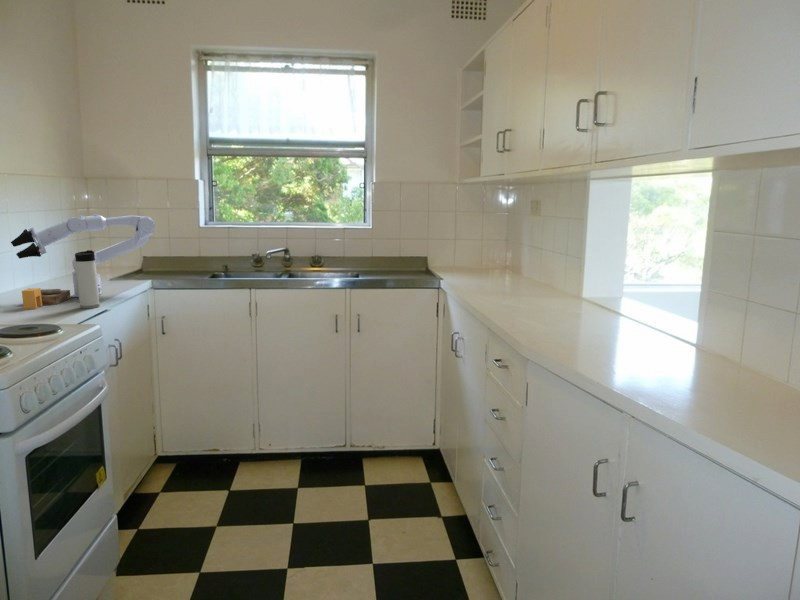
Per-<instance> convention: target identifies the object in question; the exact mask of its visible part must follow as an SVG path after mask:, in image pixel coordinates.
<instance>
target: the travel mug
mask: <svg viewBox="0 0 800 600" xmlns="http://www.w3.org/2000/svg"><path fill="white" fill-rule="evenodd" d="M94 252H95V251H93V250H89V249H88V250H85V251H78V252H75V253H74V258H76V259H75V260H76V261H75V262H76V272H77V282H78V292H79V297H78V301H79V302H78V303H79V307H80V309H84V310H86V309H88V310H89V309H96V308H99V307H100V306H101V303H100V295H99V293H98V283H97V266H96V262H95V253H94Z"/></svg>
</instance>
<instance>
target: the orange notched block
mask: <svg viewBox="0 0 800 600" xmlns="http://www.w3.org/2000/svg"><path fill="white" fill-rule="evenodd" d="M21 297H22V303H23V305H22V306H23V310H34V309H35V310H36V309H38V308H39V307H43V305H42V298H41V287H38V288H37V287H35V288H33V287H32V288H26V289H24V290H21Z"/></svg>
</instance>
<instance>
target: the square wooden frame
mask: <svg viewBox="0 0 800 600" xmlns="http://www.w3.org/2000/svg"><path fill="white" fill-rule="evenodd" d="M40 289H41V288H40ZM41 298H42V306H43V305H47V306H48V305H58V304H61V303H62V302H64V301H66V300H68V299H70V298H72V297H71V290H69V289H63V290H62V289H61V288H47V289H46V288H45V289H41Z"/></svg>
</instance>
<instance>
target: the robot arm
mask: <svg viewBox="0 0 800 600" xmlns="http://www.w3.org/2000/svg"><path fill="white" fill-rule="evenodd" d="M79 216H80V217H78V216H74V217H69V218H68V219H67V220H64V221H62V222H58V223H56V224H54V225H51V226H49V227H46V228H44V229H42V230H40V231H37V230H36V229H35V228H34V227H30V228H29V229H28V230H27V229H26V228H25V229H24V230H23V231H22V233H21V234H19V235H18V236H17V237H16V238H14V239H13V240H12V241H10V244H11V245H12V247H13V248H14V247H19V246H21V245H25V244H30V245H29V246H27V247H25V248H24V249H22V250H20V251H19V252H18V251H17V253H15V255H16V256H17V258H18V259H23V258H24V259H26V258H29V257H30V258H31V257H39V258H40V257H42V255H44V254H47V253H48V252H47V250H46V248H45V247H46V246H48V245H51V244H54V243H56V242H58V241H61V240H62V239H66V238H68V236H70V235H73V234H74V233H82V232H83V231H85V232H92V231H104V229H105V228H106V227H111V226H115V227H116V226H126V225H127V226H130V227H133V228H135V232H134V234H133V237H131V238H127V239H125V240H122V241H119V242H118V243H116V244H112V245H110V246H108V247H105V248H103V249H100V250H97V251H94V253H95V262H96V267H97V266H98V265H100V264H102V263H105V262H106V261H110V260H112V259H114V258H117V257H120V256H122V255H124V254H127V253H130V252H132V251H135V250H137V249H139V248H142V247H144V246H145V245H146V243H147V242H148V241H149V239H150V237H151V236H152V235H153V234H154V231H155V228H156V223H155V220H154V219H153V218H152V217H150V216H146V215H143V216H142V215H141V216H140V215H124V216H115V217H114V216H113V217H104V216H102V215H100V214H99V215H98V213H95V214H93V215H89V216H87V215H86V216H85V215H82V214H81V215H79ZM75 259H76V258H75V257H74V258H73V259H72V266H73V269H74V271H73V272H72V283H73V292H74V294H72V295H70V297H71V298H79V292H78V282H77V272H76V262H75V261H76V260H75ZM97 283H98V293H99V296H100V295H102V294H103V291H102V290H103V289H102V279H101V275H100V273H97Z"/></svg>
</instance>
